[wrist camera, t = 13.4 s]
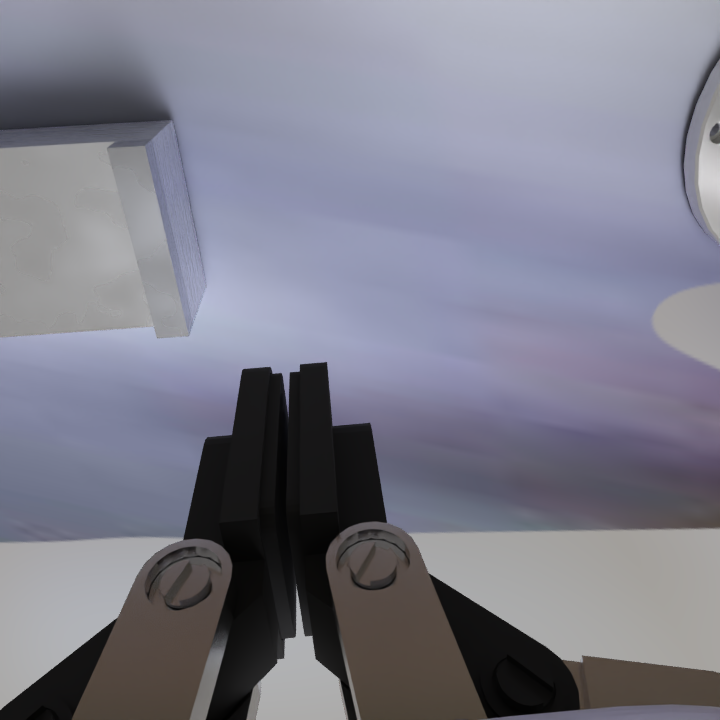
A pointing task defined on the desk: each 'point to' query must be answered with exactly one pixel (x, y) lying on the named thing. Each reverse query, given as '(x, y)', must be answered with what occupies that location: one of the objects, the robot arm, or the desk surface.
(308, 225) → the desk surface
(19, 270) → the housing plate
